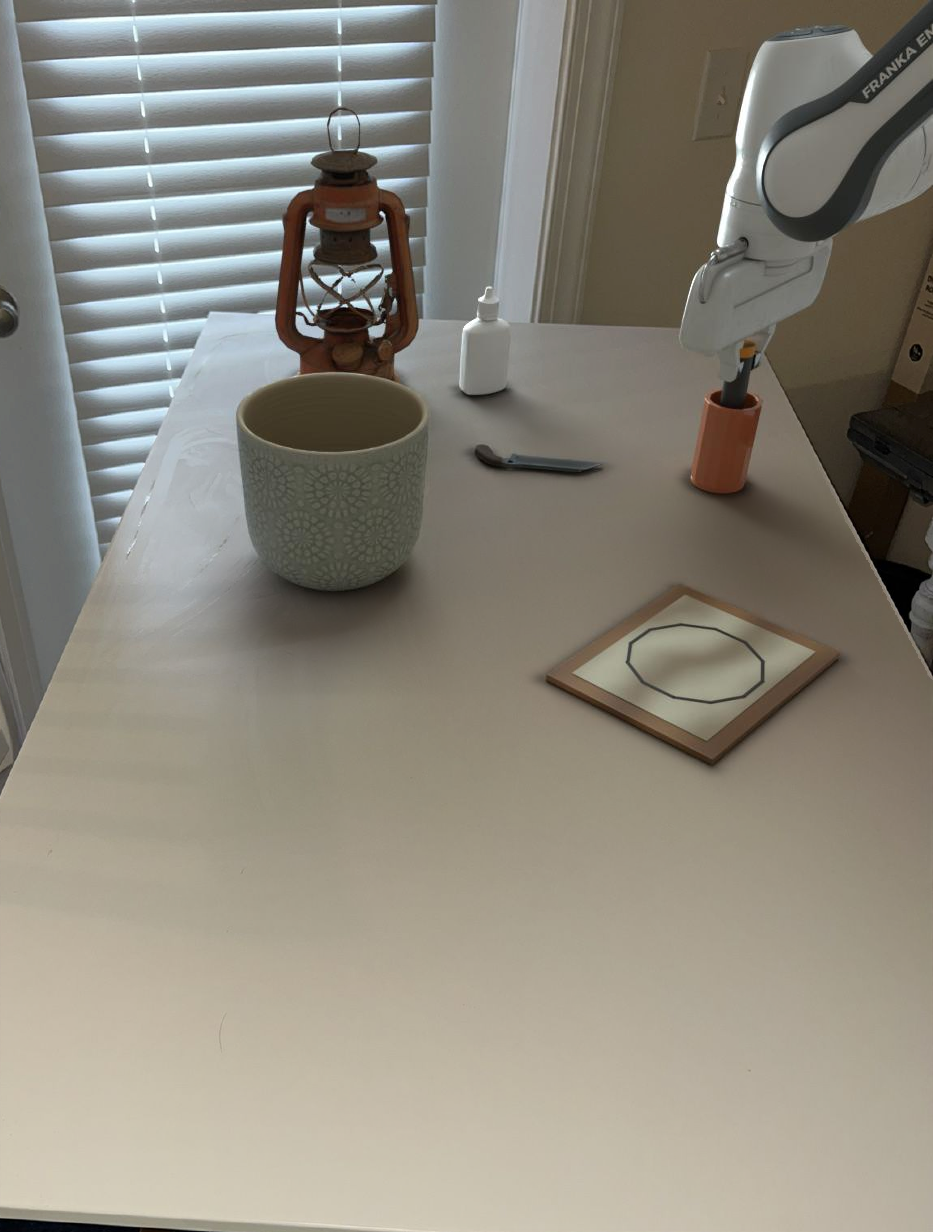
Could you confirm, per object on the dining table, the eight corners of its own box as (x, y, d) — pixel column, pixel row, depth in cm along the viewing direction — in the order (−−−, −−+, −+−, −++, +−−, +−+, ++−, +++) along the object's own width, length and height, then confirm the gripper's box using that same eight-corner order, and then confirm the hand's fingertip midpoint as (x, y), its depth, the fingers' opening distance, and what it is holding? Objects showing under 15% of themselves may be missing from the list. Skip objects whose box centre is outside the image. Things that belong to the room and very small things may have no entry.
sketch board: (838, 658, 106) (841, 650, 106) (711, 765, 95) (713, 757, 95) (678, 588, 115) (680, 581, 114) (545, 679, 104) (546, 672, 104)
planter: (237, 610, 112) (225, 453, 102) (254, 519, 125) (245, 371, 115) (424, 613, 112) (431, 455, 102) (422, 521, 125) (427, 372, 115)
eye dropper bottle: (460, 380, 151) (465, 280, 143) (506, 383, 151) (514, 282, 143) (458, 395, 148) (463, 293, 140) (505, 397, 147) (513, 295, 140)
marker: (738, 467, 130) (760, 343, 122) (725, 475, 128) (747, 350, 120) (717, 460, 131) (738, 337, 123) (704, 468, 130) (724, 344, 122)
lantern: (274, 405, 146) (261, 123, 127) (280, 361, 156) (270, 94, 137) (418, 405, 146) (427, 123, 126) (415, 362, 156) (424, 94, 136)
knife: (471, 465, 134) (471, 459, 133) (476, 449, 137) (476, 443, 136) (602, 477, 132) (603, 471, 131) (604, 460, 135) (605, 454, 134)
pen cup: (755, 480, 131) (773, 398, 125) (725, 499, 128) (743, 416, 122) (708, 463, 134) (724, 383, 128) (679, 481, 131) (694, 399, 125)
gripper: (739, 262, 107) (709, 414, 116) (853, 210, 118) (818, 353, 127) (676, 245, 110) (652, 395, 119) (793, 197, 122) (763, 337, 131)
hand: (738, 373), depth 123 cm, fingers closed on marker, 2 cm apart
